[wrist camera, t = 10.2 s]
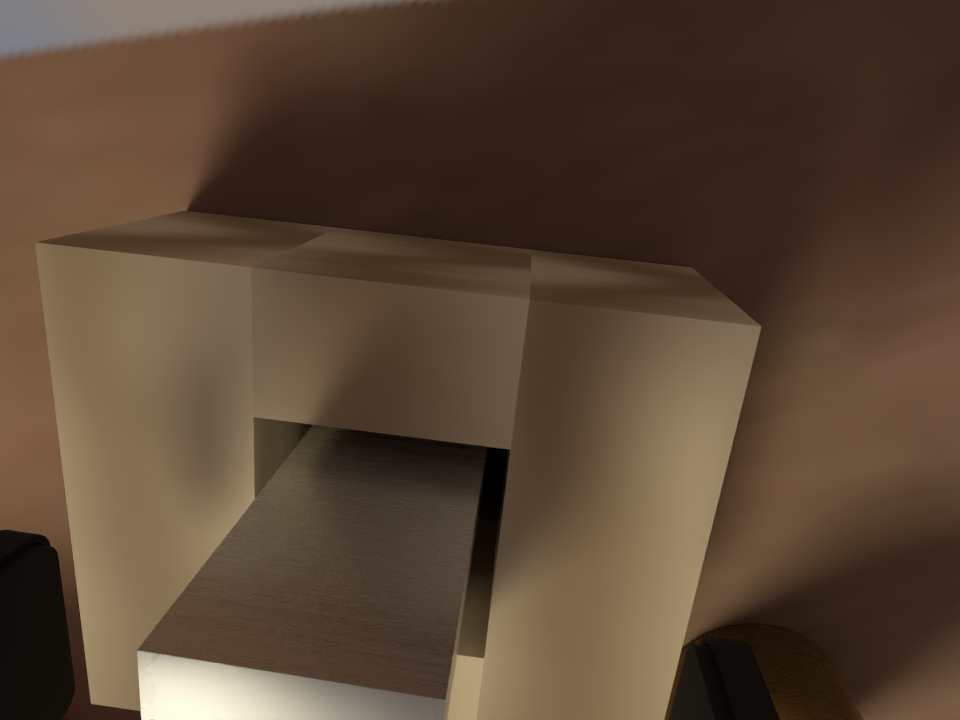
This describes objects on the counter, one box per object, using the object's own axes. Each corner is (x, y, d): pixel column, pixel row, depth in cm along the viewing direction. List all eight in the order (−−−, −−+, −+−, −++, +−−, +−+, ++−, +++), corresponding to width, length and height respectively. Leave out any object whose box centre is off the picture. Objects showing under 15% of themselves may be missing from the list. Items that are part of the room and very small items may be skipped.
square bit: (498, 377, 17) (445, 699, 7) (481, 496, 18) (417, 912, 8) (364, 358, 17) (136, 650, 7) (356, 477, 18) (150, 865, 8)
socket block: (692, 267, 15) (761, 326, 11) (619, 620, 18) (647, 786, 14) (185, 210, 16) (34, 242, 11) (201, 562, 19) (91, 704, 14)
